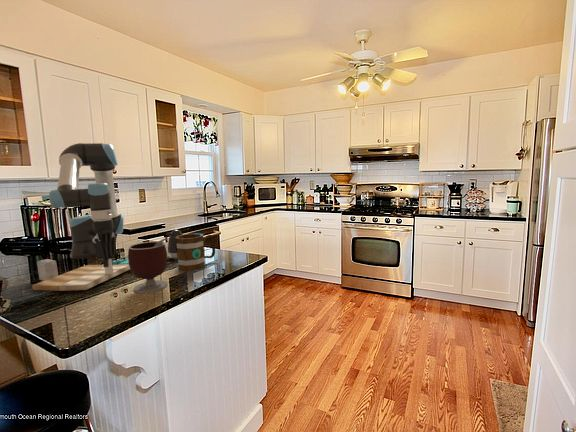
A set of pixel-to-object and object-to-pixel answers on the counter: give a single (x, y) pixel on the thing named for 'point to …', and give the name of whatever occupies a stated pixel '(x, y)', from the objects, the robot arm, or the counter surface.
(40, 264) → the medicine box
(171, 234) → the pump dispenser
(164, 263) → the mate gourd
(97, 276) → the ash plank
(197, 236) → the mug
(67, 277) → the oak board
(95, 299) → the counter surface
